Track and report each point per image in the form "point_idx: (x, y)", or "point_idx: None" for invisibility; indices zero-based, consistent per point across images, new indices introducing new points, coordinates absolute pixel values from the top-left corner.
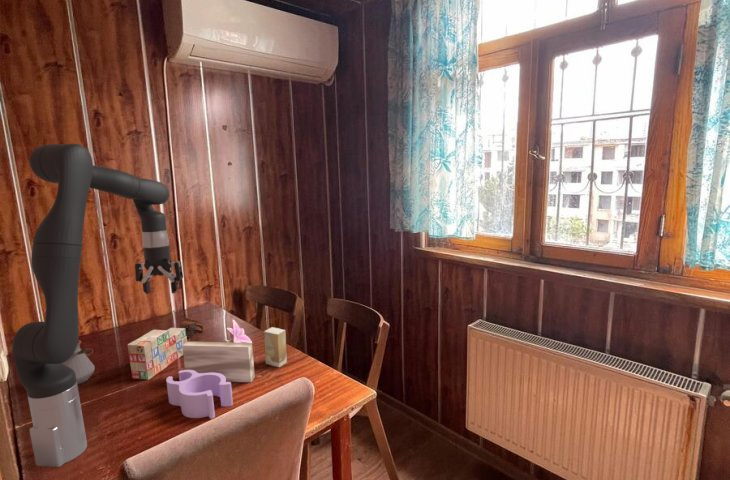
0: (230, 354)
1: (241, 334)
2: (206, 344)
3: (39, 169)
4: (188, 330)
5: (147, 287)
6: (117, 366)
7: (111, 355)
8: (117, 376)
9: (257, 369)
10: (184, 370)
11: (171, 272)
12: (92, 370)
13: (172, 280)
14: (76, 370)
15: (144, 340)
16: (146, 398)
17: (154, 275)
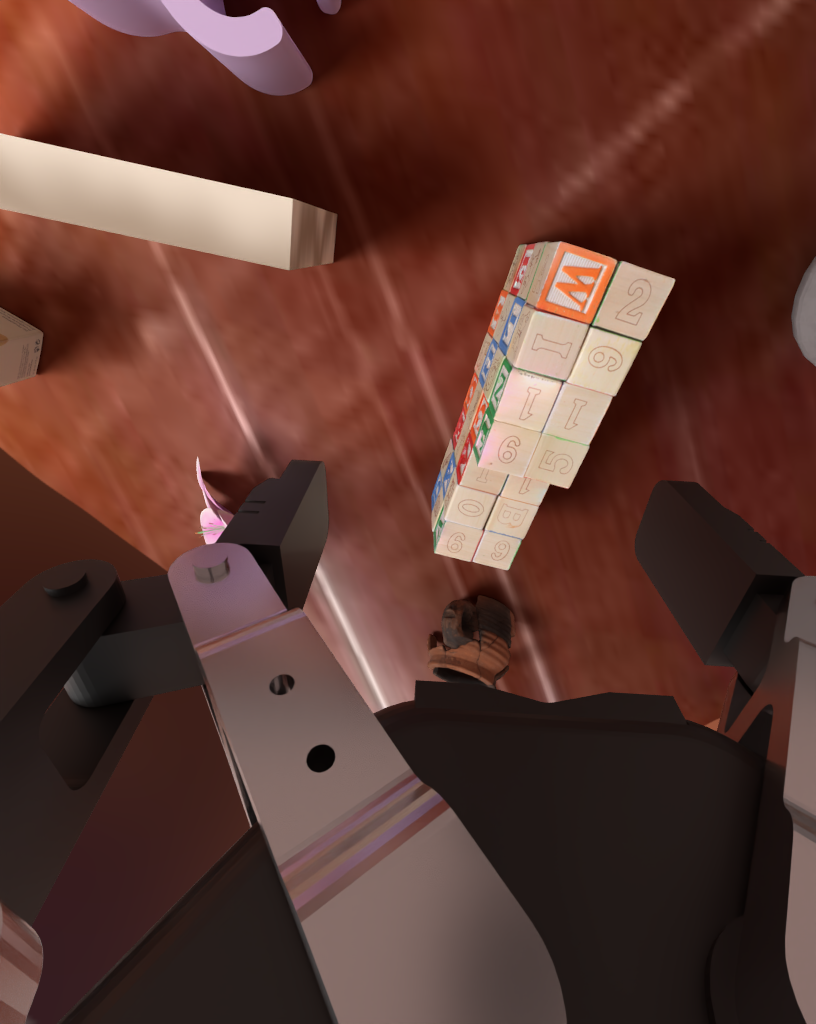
0: None
1: (204, 531)
2: (129, 189)
3: None
4: (460, 609)
5: (697, 542)
6: (691, 400)
7: (736, 502)
8: (670, 300)
9: (54, 282)
10: (252, 44)
11: (238, 785)
12: (804, 294)
13: (210, 558)
14: None
15: (578, 327)
16: (464, 15)
17: (637, 701)
